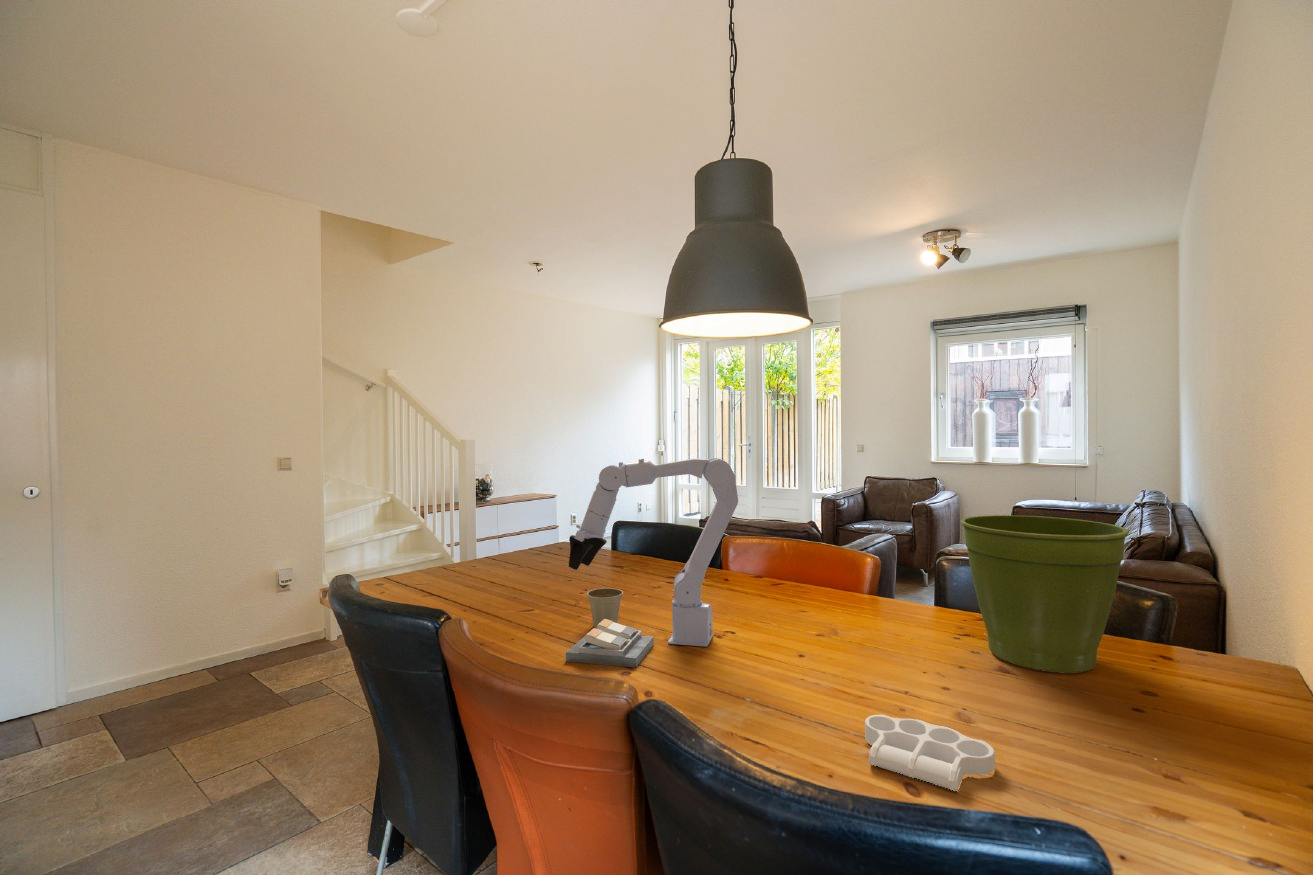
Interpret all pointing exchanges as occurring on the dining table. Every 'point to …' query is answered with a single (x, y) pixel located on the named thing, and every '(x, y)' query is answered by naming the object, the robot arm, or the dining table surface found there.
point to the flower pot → (604, 604)
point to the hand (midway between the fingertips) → (578, 566)
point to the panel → (612, 652)
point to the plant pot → (1044, 586)
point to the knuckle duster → (926, 750)
